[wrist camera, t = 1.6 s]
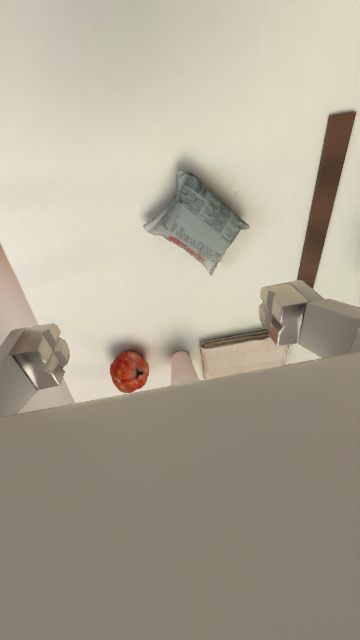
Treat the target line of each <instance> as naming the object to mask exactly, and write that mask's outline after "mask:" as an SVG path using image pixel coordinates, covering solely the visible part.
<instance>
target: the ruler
mask: <svg viewBox="0 0 360 640" xmlns="http://www.w3.org/2000/svg"><path fill="white" fill-rule="evenodd" d="M355 115H356V112H350V113H343V114H336V115H330V116H329V121H328V126H327V131H326V136H325V141H324V146H323V151H322V156H321V161H320V167H319V172H318V177H317V182H316V187H315V192H314V197H313V202H312V207H311V213H310V218H309V223H308V228H307V233H306V238H305V243H304V248H303V253H302V258H301V264H300V269H299V274H298V279H297V280H302V281H304V282H305V283H306V284H307V285H308V286H309V287H311V288H312V289H313V286H314V282H315V278H316V274H317V270H318V266H319V262H320V258H321V254H322V250H323V246H324V242H325V238H326V233H327V229H328V225H329V221H330V217H331V213H332V209H333V205H334V201H335V197H336V193H337V189H338V185H339V180H340V176H341V172H342V168H343V164H344V160H345V156H346V152H347V148H348V144H349V140H350V136H351V132H352V127H353V123H354V119H355Z"/></svg>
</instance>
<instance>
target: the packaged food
mask: <svg viewBox="0 0 360 640" xmlns="http://www.w3.org/2000/svg"><path fill="white" fill-rule="evenodd" d="M143 227H144V229H145V230H146V231H147V232H149V233H151V234H154V235H160V236H163V237H165V238H166V239H167V240H169V241H170V242H172V243H174V244H176V245H178V246H179V247H181V248H183V249H184V250H186V251H187V252H188V253H190V255H191V256H193V257H195V258H196V259H197V260H198V261H199V262H201V263H202V264H203V265H204V267H205V268H206V269H207V271H208V272H209V274H210V275H212V274H213V272H214V270H215V268H216V267H217V264H218V262H219V261H220V262H221V261H222V258H223V255H224V253H225V251H226V249H227V248H228V247H229V246H230V245H231V244H232V242H233V241H234V239H235V238H236V236H237V234H238V233H239V231H240V230H243V229H248V228H249V225H248V224H247V223H246V222H245V221H243V220H242V219H241V218H240V217H239V216H238V215H236V214H235V213H234V212H233V211H232V210H231V209H230V208H228V207H227V206H226V205H225V204H224V203H222V202H221V201H219V200H218V199H217V198H216V197H215V196H214V195H213V194H212V193H211V192H210V191H209V190H207V189H206V188H205V187H203V185H202V183H201V182H200V180H199V179H198V178H197V177H196V176H195V175H193V174H192V173H189V172H184V171H180V170H179V171H178V174H177V194H176V197H175V200H174V201H173V202H172V203H171V204H170V205H169V206H168V207H166V208H165V209H164V210H163V211H162V212H160V213H159V214H158V215H157V216H156V217H154V218H153V219H152V220H151V221H148V222H147V223H146V224H145V225H143Z"/></svg>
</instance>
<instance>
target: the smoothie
mask: <svg viewBox="0 0 360 640" xmlns="http://www.w3.org/2000/svg"><path fill="white" fill-rule="evenodd" d="M195 381H199V379H198V376H197V374H196V371H195V369H194V366H193V363H192V361H191V358H190V356H189V354H188V353H187V352H185V351H179V352H176V353H174V354H173V356H172V362H171V386H173V385H179V384H184V383H190V382H195Z"/></svg>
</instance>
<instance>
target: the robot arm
mask: <svg viewBox="0 0 360 640" xmlns="http://www.w3.org/2000/svg"><path fill="white" fill-rule="evenodd" d="M260 298H261V299H262V300H263V302H262V304H261V305H260V306H259V316H260V321H261V323H262V325H263V327H264V328H265V329H267V330H269V336H270V337H271V339H272V340H273V342H274V343H275V345H276V346H281V345H288V344H294V343H298V344H299V345H301V346H303V347H304V348H306V349H308V350H310V351H311V352H313V353H315V354H317V355H318V356H320V357H322V358H321V359H316V360H310V361H305V362H299V363H294V364H288V365H283V366H277V367H272V368H266V369H261V370H255V371H250V372H244V373H239V374H233V375H228V376H222V377H217V378H211V379H206V380H200V381H195V382H190V383H184V384H179V385H173V386H168V387H162V388H157V389H152V390H146V391H141V392H135V393H130V394H124V395H119V396H113V397H108V398H102V399H97V400H91V401H86V402H80V403H75V404H69V405H65V406H59V407H53V408H48V409H42V410H36V411H31V412H26V413H20V414H17V413H18V412H19V411H20V410H21V408H23V407H24V405H25V404H26V403H27V402H28V401H29V400H30V399H31V398H32V397H33V396H34V395H35V393H36V392H37V390H40V389H44V388H49V387H54V386H59V385H60V384H61V381H62V379H63V376H64V373H65V371H64V370H63V367H64V366H65V365H66V364H67V363H68V361H69V348H68V345H67V343H66V341H65V340H63V339H62V338H60V337H59V335H60V330H59V328H58V326H57V325H55V324H54V323H53V324H46V325H40V326H34V327H28V328H20V329H15V330H13V331H11V332H10V334H9V335H8V336H7V338H6V339H5V341H4V342H3V344H2V345H1V346H0V640H360V308H359V307H356V306H352V305H349V304H345V303H342V302H338V301H335V300H331V299H324V298H322V297H321V296H320V295H319V294H318V293H317V292H315V291H314V290H313V289H312V288H311V287H309V286H308V285H307V284H306V283H305V282H304V281H302V280H296V281H292V282H287V283H282V284H277V285H272V286H267V287H263V288H262V289H261V293H260Z"/></svg>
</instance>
